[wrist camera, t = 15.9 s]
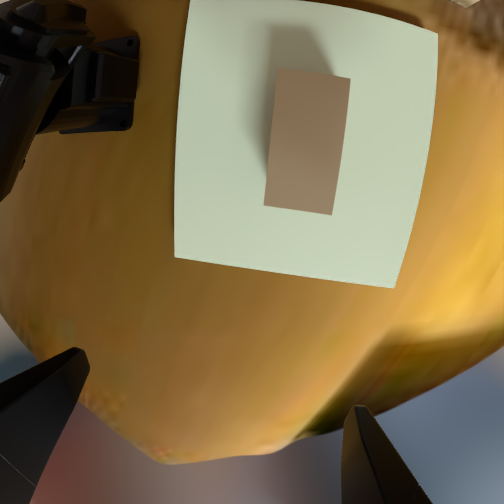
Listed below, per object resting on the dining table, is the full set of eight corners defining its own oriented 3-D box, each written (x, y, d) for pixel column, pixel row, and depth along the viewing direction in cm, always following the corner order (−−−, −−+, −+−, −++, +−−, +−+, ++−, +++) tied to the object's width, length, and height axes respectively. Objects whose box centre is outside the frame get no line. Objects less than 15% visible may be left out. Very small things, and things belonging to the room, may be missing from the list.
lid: (185, 244, 21) (152, 284, 16) (200, 10, 14) (166, -23, 9) (386, 273, 19) (408, 321, 14) (425, 40, 13) (465, 19, 8)
